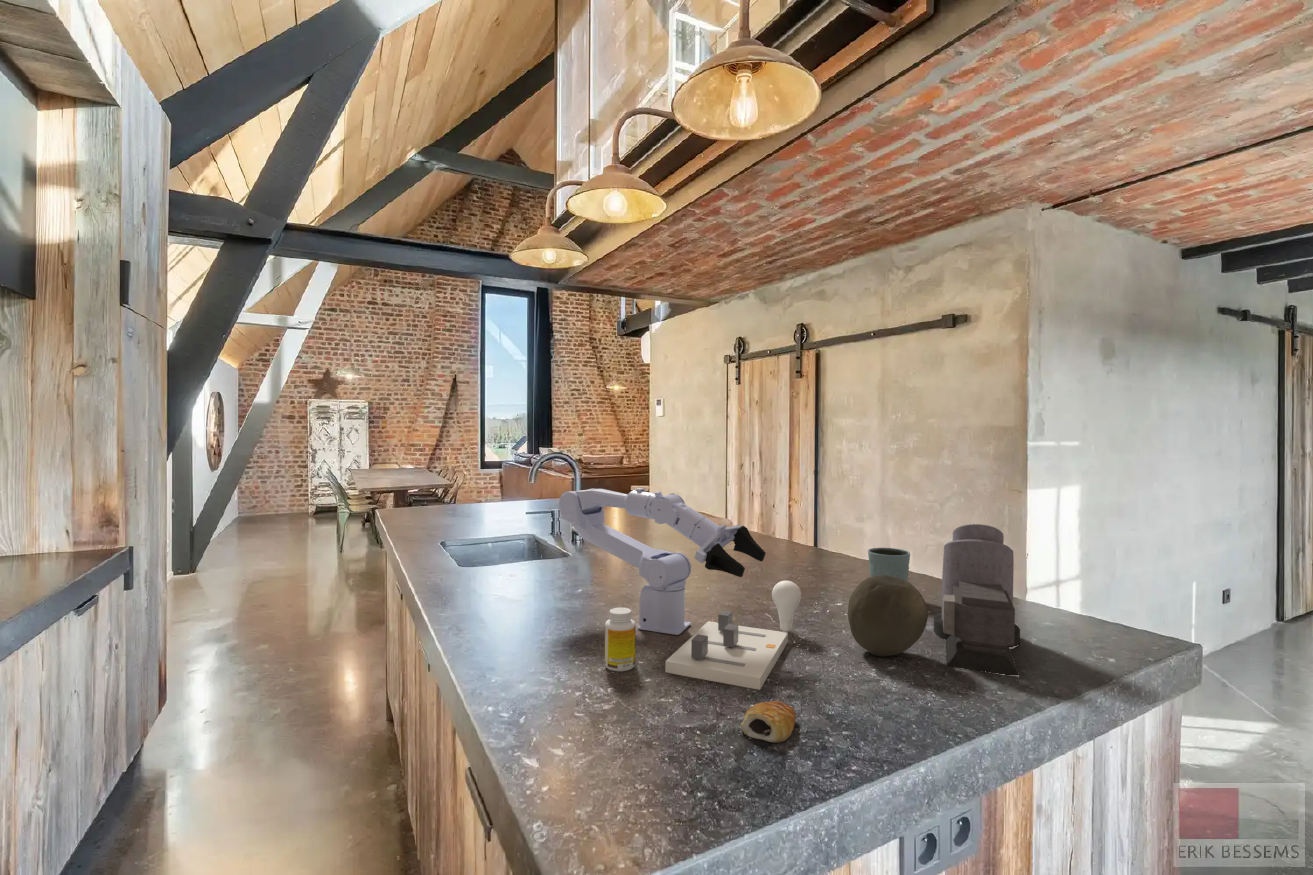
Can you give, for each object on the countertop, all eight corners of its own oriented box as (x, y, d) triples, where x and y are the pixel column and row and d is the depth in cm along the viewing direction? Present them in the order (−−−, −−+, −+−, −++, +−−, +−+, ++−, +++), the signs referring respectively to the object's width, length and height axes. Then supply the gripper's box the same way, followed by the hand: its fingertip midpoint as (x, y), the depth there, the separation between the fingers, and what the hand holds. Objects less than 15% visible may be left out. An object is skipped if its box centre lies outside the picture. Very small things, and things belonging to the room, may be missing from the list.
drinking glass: (915, 603, 149) (916, 555, 149) (875, 602, 149) (876, 555, 149) (899, 592, 159) (900, 547, 159) (862, 591, 160) (862, 546, 159)
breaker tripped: (723, 645, 112) (723, 628, 112) (728, 640, 115) (728, 623, 115) (733, 647, 111) (733, 630, 111) (738, 641, 114) (738, 625, 114)
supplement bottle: (640, 669, 107) (640, 612, 107) (611, 674, 104) (611, 616, 104) (628, 658, 112) (628, 604, 112) (600, 663, 109) (600, 608, 109)
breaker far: (718, 630, 121) (718, 614, 121) (722, 625, 124) (722, 609, 124) (727, 631, 120) (727, 615, 120) (732, 626, 123) (732, 611, 123)
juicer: (933, 618, 138) (935, 513, 137) (1013, 628, 131) (1016, 518, 130) (933, 664, 110) (936, 533, 110) (1035, 681, 104) (1038, 541, 103)
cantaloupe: (889, 673, 106) (890, 589, 106) (831, 647, 118) (833, 572, 118) (942, 659, 112) (943, 581, 112) (882, 636, 125) (883, 565, 125)
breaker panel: (665, 672, 106) (665, 660, 106) (708, 630, 128) (708, 620, 128) (759, 689, 99) (760, 677, 99) (787, 642, 121) (787, 632, 121)
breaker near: (691, 657, 106) (691, 639, 106) (697, 651, 109) (697, 634, 109) (702, 659, 105) (702, 641, 105) (707, 653, 108) (707, 635, 108)
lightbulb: (801, 638, 123) (801, 585, 123) (771, 635, 125) (771, 583, 124) (800, 628, 129) (800, 578, 129) (771, 626, 131) (772, 576, 130)
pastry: (764, 709, 92) (765, 685, 92) (806, 722, 89) (807, 697, 89) (737, 735, 85) (737, 708, 85) (782, 750, 81) (782, 722, 81)
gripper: (682, 527, 117) (738, 564, 110) (724, 502, 128) (777, 535, 120) (675, 554, 120) (729, 592, 113) (716, 528, 131) (768, 561, 124)
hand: (753, 564), depth 117 cm, fingers open, 7 cm apart
